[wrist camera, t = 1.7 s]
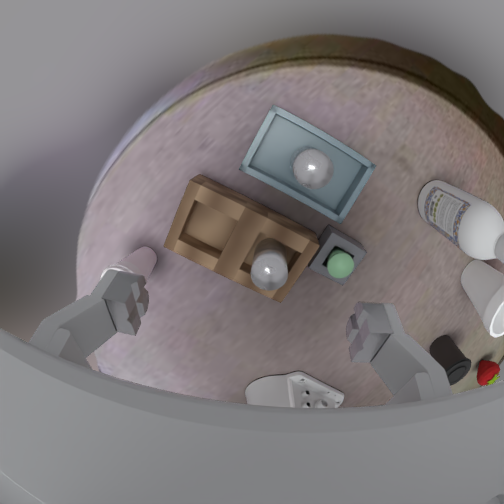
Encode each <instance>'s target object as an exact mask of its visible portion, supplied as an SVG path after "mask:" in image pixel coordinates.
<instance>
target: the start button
mask: <svg viewBox="0 0 504 504" xmlns="http://www.w3.org/2000/svg"><path fill="white" fill-rule="evenodd" d="M327 260H328V262H327V269H328V272H329V274H330V275H331V276H333V277H335V278H344V277H346V276H348V275H349V274H350V273H351V272H352V270H353V268H354V262H353V259H352V258H351V256H350V255H349V254H347V253H346V252H345V250H344V249H342V248H340V247H333V249H332V250H331V252H330V253H329V255H328V256H327Z"/></svg>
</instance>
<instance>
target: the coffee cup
mask: <svg viewBox="0 0 504 504" xmlns="http://www.w3.org/2000/svg"><path fill="white" fill-rule="evenodd" d="M430 353H431V356H432V357H433V358H434V359H435V360H436V361H437V362H438V363H439V364H440V365H441V366H442V367H443V368H444V369H445V372H446V375H447V378H448V381H449V384H450V386H451V385H453V384H455V383H457V382H458V381H460V380H461V379H462V378H463V377H464V376H465V375H466V374H467V373H468V371H469V370H470V367H471V360H470V359H468V358H466V357H465V356H464V354H463V353H462V352H461V351H460V349H459V348H458V347H457V346H456V345H455V343H454V342H453V341H452V340H451V339H450V337H449V336H447V335H444V336H441V337H439V338H437V339H436V340H435V341H434V342H433V343H432V344H431V346H430Z"/></svg>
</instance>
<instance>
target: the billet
mask: <svg viewBox="0 0 504 504" xmlns="http://www.w3.org/2000/svg"><path fill="white" fill-rule="evenodd" d="M291 168H292V171H293V173H294V175H295V178H296V180H297V181H298V182H299V183H300V184H301V185H302V186H304V187H306V188H309V189H319V188H322V187H324V186H325V185H327V184H328V183H329V182H330V180H331V178H332V176H333V171H334V169H333V163H332V161H331V159H330V158H329V157H328V155H326V154H325V153H324V152H322V151H320V150H317V149H315V148H313V147H301V148H299V149H297V150H296V151H295V152H294V153H293V155H292V157H291Z"/></svg>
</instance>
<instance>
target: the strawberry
mask: <svg viewBox="0 0 504 504" xmlns="http://www.w3.org/2000/svg"><path fill="white" fill-rule="evenodd" d="M499 371H500V368H499V365H498V364H496V363H495V362H492V361H485V360H482V361H480V363H479V368H478V372H477V381H478V383H479V384H480V385H486V386H487V385H490V384H493V383H494V382H495V380H496V379H498V378H499V377H500V376H499V377H497V375H498V374H499ZM496 377H497V378H496Z"/></svg>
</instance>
